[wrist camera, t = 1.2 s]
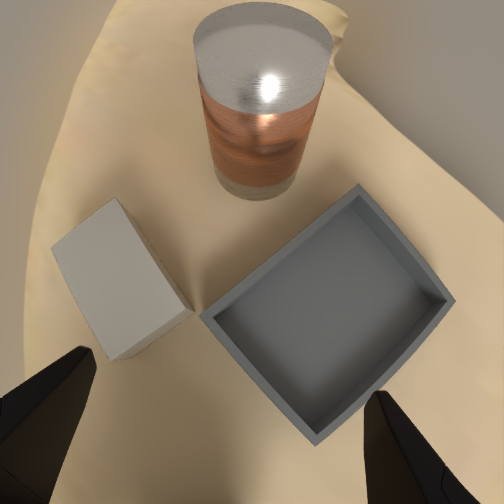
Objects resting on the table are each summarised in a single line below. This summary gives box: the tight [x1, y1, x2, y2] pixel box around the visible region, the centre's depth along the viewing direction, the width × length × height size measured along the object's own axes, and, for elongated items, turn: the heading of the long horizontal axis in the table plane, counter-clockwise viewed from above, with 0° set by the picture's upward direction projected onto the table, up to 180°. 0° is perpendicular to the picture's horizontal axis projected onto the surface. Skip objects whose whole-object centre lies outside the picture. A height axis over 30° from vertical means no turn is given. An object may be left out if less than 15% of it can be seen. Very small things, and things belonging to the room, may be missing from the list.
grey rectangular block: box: [51, 197, 195, 362], centre depth 21 cm, size 6×9×4 cm, turn 36°
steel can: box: [193, 2, 333, 201], centre depth 19 cm, size 7×7×13 cm
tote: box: [199, 184, 456, 446], centre depth 21 cm, size 14×11×3 cm
